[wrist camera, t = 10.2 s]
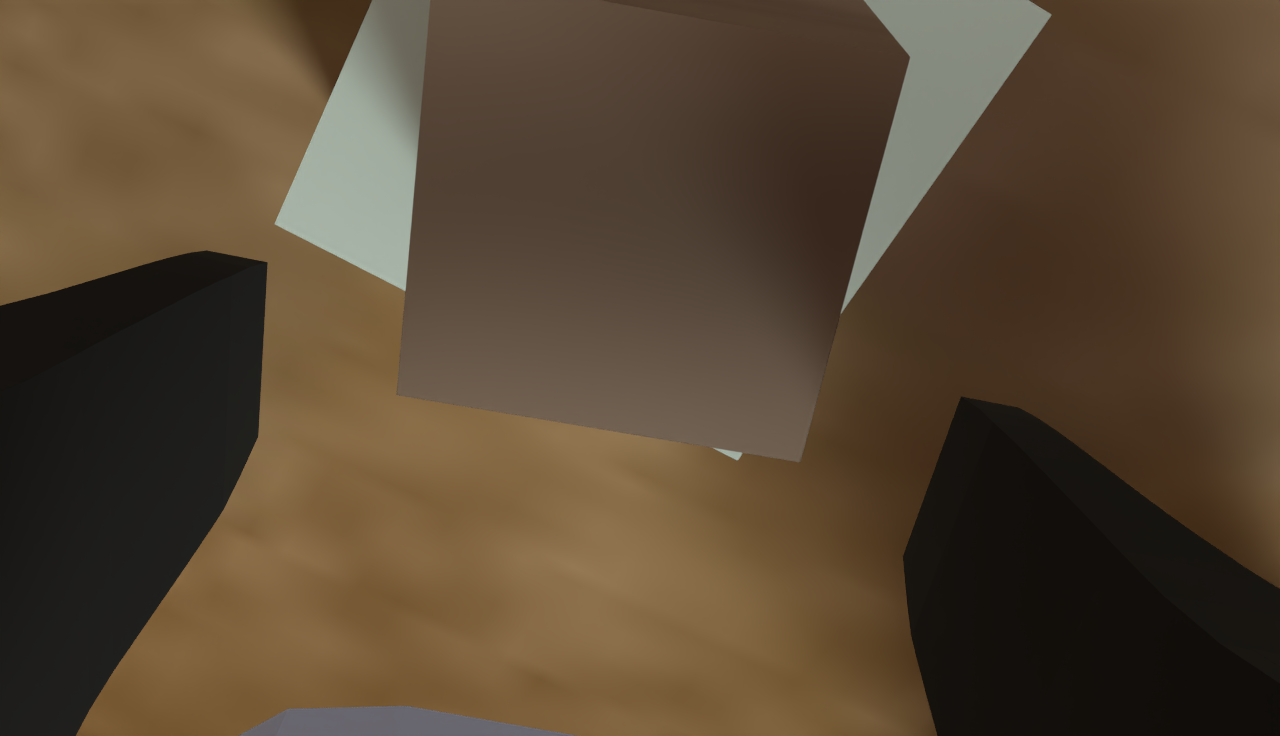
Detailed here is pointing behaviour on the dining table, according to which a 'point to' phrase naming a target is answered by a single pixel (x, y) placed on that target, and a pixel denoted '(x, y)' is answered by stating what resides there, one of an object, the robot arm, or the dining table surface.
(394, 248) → the sage block
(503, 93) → the walnut block
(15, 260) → the dining table surface
